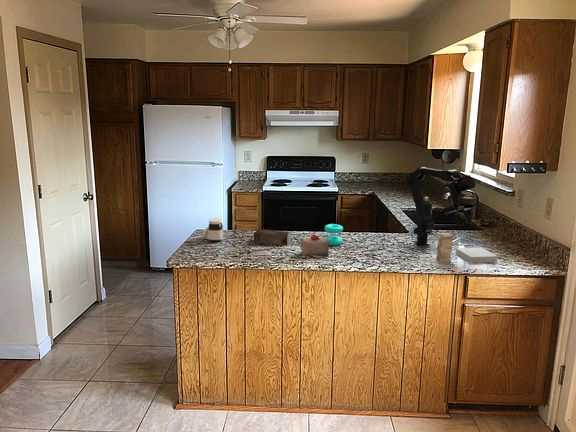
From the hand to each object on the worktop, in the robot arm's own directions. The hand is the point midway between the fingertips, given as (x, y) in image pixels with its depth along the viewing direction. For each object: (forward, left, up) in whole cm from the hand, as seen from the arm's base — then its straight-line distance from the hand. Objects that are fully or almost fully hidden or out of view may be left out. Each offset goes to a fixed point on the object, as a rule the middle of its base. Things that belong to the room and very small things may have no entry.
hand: (464, 224), depth 226 cm
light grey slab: (+1, +8, -17) cm, 19 cm away
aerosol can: (-53, +5, -18) cm, 56 cm away
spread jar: (-43, -123, -18) cm, 132 cm away
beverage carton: (-35, -91, -18) cm, 99 cm away
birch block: (+2, -10, -17) cm, 20 cm away
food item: (-13, -72, -18) cm, 76 cm away
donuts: (-30, -58, -18) cm, 68 cm away
